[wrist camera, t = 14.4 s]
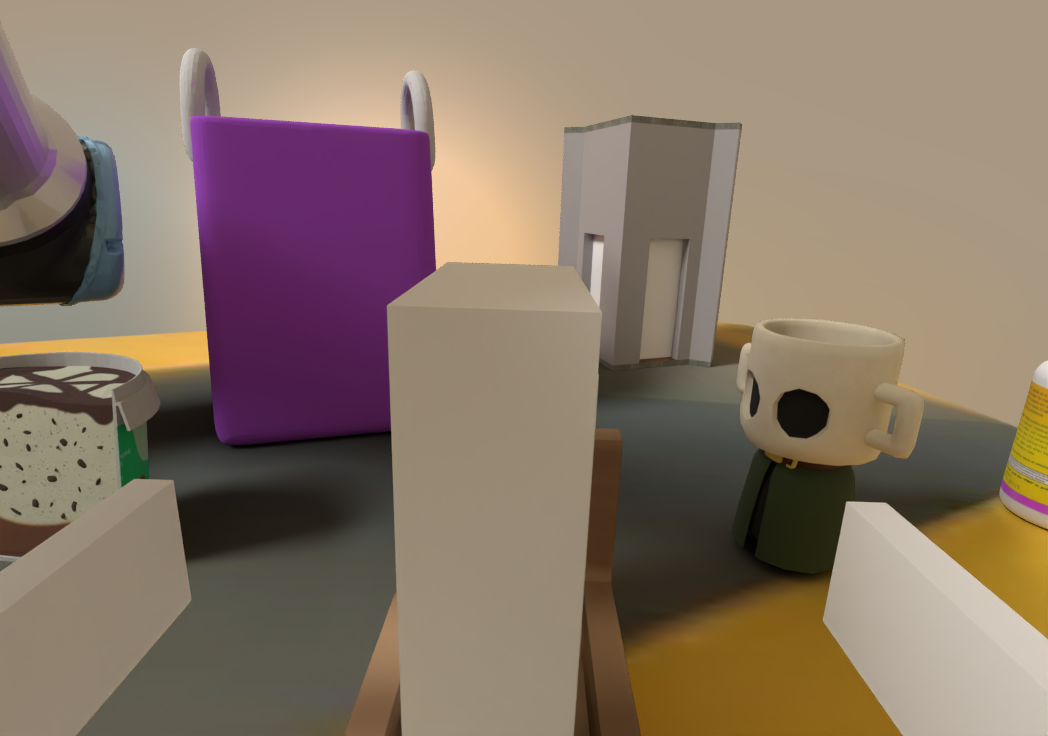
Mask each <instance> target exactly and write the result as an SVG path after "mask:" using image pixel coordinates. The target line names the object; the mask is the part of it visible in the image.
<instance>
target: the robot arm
mask: <svg viewBox="0 0 1048 736" xmlns="http://www.w3.org/2000/svg"><path fill="white" fill-rule="evenodd" d="M122 239H123V237H122V215H121V203H120V193H119V183H118V175H117V167H116V161H115V156H114V154H113V152H112V149H111V148H110V147H109V146H108V145H107V144H106V143H104V142H102V141H98V140H92V139H89V138H88V137H84V136H76V134H75V132H74V131H73V130H72V128H71V127H70V125H69V124H68V123H67V122H66V121H65V120H64V119H63V118H62V117H61V116H60V115H59V114H58V113H57V112H56V111H54V110H53V109H52V108H51V107H50V106H49V105H47V104H46V103H44V102H43V101H41V100H40V99H38V98H37V97H35V96H33V95H31V94H30V92H29V90H28V88H27V85H26V83H25V80H24V78H23V75H22V73H21V70H20V68H19V66H18V63H17V61H16V58H15V56H14V53H13V51H12V49H11V46H10V44H9V41H8V39H7V36H6V34H5V32H4V29H3V26H2V24H1V22H0V306H22V305H44V304H59V305H62V306H72V305H75V304H77V303H79V302H89V301H100V300H107V299H110V298H113V297H114V296H116V295H117V294H118V293H119V292H120V291H121V289H122V287H123V284H124V252H123V251H124V250H123V244H122ZM190 602H191V594H190V588H189V581H188V574H187V567H186V561H185V554H184V547H183V541H182V534H181V527H180V521H179V514H178V507H177V501H176V494H175V487H174V481H173V480H153V479H133V480H132V481H131V482H129V483H128V484H126V485H125V486H123V487H122V488H120V489H119V490H118V491H116V492H115V493H113V494H112V495H110V496H109V497H108V498H106V499H105V500H103V501H102V502H100V503H99V504H97V505H96V506H95V507H93V508H92V509H90V510H89V511H87V512H86V513H84V514H83V515H82V516H80V517H79V518H77V519H76V520H74V521H73V522H71V523H70V524H69V525H67V526H66V527H64V528H63V529H61V530H60V531H58V532H57V533H56V534H54V535H53V536H51V537H50V538H48V539H47V540H45V541H44V542H43V543H41V544H40V545H38V546H37V547H35V548H34V549H32V550H31V551H30V552H28V553H27V554H25V555H24V556H22V557H21V558H20V559H18V560H17V561H15V562H14V563H12V564H11V565H9V566H8V567H7V568H5V569H4V570H2V571H1V572H0V736H76V735H77V734H78V732H79V731H80V730H81V729H82V728H83V727H84V725H85V724H86V723H87V722H88V721H89V719H90V718H91V717H92V716H93V715H94V714H95V712H96V711H97V710H98V709H99V708H100V707H101V705H102V704H103V703H104V702H105V701H106V700H107V698H108V697H109V696H110V695H111V694H112V693H113V691H114V690H115V689H116V688H117V687H118V686H119V684H120V683H121V682H122V681H123V680H124V679H125V677H126V676H127V675H128V674H129V673H130V672H131V670H132V669H133V668H134V667H135V666H136V665H137V663H138V662H139V661H140V660H141V659H142V658H143V656H144V655H145V654H146V653H147V652H148V651H149V649H150V648H151V647H152V646H153V645H154V644H155V642H156V641H157V640H158V639H159V638H160V637H161V635H162V634H163V633H164V632H165V631H166V630H167V628H168V627H169V626H170V625H171V624H172V623H173V621H174V620H175V619H176V618H177V617H178V616H179V614H180V613H181V612H182V611H183V610H184V609H185V607H186V606H187V605H188V604H189V603H190ZM823 622H824V624H825V625H826V627H827V628H828V629H829V631H830V632H831V634H832V635H833V637H834V638H835V640H836V641H837V642H838V644H839V645H840V647H841V648H842V650H843V651H844V652H845V654H846V655H847V657H848V658H849V660H850V661H851V662H852V664H853V665H854V667H855V668H856V670H857V671H858V672H859V674H860V675H861V677H862V678H863V680H864V681H865V682H866V684H867V685H868V687H869V688H870V690H871V691H872V692H873V694H874V695H875V697H876V698H877V700H878V701H879V703H880V704H881V705H882V707H883V708H884V710H885V711H886V713H887V714H888V715H889V717H890V718H891V720H892V721H893V723H894V724H895V725H896V727H897V728H898V730H899V731H900V733H901V734H902V735H903V736H1048V639H1047V638H1046V637H1045V636H1044V635H1042V634H1041V633H1040V632H1039V631H1038V630H1036V629H1035V628H1034V627H1033V626H1032V625H1030V624H1029V623H1028V622H1027V621H1026V620H1025V619H1023V618H1022V617H1021V616H1020V615H1019V614H1017V613H1016V612H1015V611H1014V610H1013V609H1011V608H1010V607H1009V606H1008V605H1007V604H1006V603H1004V602H1003V601H1002V600H1001V599H1000V598H998V597H997V596H996V595H995V594H994V593H992V592H991V591H990V590H989V589H988V588H987V587H985V586H984V585H983V584H982V583H981V582H979V581H978V580H977V579H976V578H975V577H974V576H972V575H971V574H970V573H969V572H968V571H966V570H965V569H964V568H963V567H962V566H960V565H959V564H958V563H957V562H956V561H955V560H953V559H952V558H951V557H950V556H949V555H947V554H946V553H945V552H944V551H943V550H941V549H940V548H939V547H938V546H937V545H936V544H934V543H933V542H932V541H931V540H930V539H928V538H927V537H926V536H925V535H924V534H922V533H921V532H920V531H919V530H918V529H917V528H915V527H914V526H913V525H912V524H911V523H909V522H908V521H907V520H906V519H905V518H904V517H902V516H901V515H900V514H899V513H898V512H896V511H895V510H894V509H893V508H892V507H890V506H889V505H888V504H887V503H879V502H846V507H845V512H844V517H843V522H842V527H841V531H840V536H839V541H838V546H837V551H836V556H835V561H834V566H833V571H832V576H831V581H830V586H829V591H828V596H827V601H826V606H825V611H824V616H823Z"/></svg>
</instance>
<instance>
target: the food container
mask: <svg viewBox="0 0 1048 736" xmlns="http://www.w3.org/2000/svg"><path fill="white" fill-rule="evenodd" d="M159 406H160V400H159V397H158V395H157V393H156V390H155V388H154V385H153V383H152V381H151V378H150V376H149V375H148V374H147V373H146V372H145V371H143V369H142V365H141V364H140V363H139V362H138V361H136V360H134V359H132V358H129V357H125V356H121V355H114V354H106V353H91V352H56V353H36V354H22V355H12V356H2V357H0V561H9V562H15V561H17V560H18V559H20V558H21V557H22V556H24V555H25V554H27V553H28V552H30V551H31V550H32V549H34V548H35V547H37V546H38V545H40V544H41V543H43V542H44V541H45V540H47V539H48V538H50V537H51V536H53V535H54V534H56V533H57V532H58V531H60V530H61V529H63V528H64V527H66V526H67V525H69V524H70V523H71V522H73V521H74V520H76V519H77V518H79V517H80V516H82V515H83V514H84V513H86V512H87V511H89V510H90V509H92V508H93V507H95V506H96V505H97V504H99V503H100V502H102V501H103V500H105V499H106V498H108V497H109V496H110V495H112V494H113V493H115V492H116V491H118V490H119V489H120V488H122V487H123V486H125V485H126V484H128V483H129V482H131V481H132V480H133V479H149V464H148V441H147V420H149V419H150V418H151V417H152V416H153V415H154V414H155V413H156V412H157V411H158V409H159Z"/></svg>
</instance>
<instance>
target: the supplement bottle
mask: <svg viewBox="0 0 1048 736" xmlns="http://www.w3.org/2000/svg"><path fill="white" fill-rule="evenodd" d="M999 495H1000V499H1001V501H1002V503H1003V504H1004V505H1005V506H1006V507H1007V508H1008V509H1009V510H1010V511H1012V512H1013V513H1014V514H1016V515H1018V516H1019V517H1021V518H1023V519H1025V520H1027V521H1029V522H1031V523H1033V524H1035V525H1037V526H1040V527H1042V528H1045V529H1048V361H1045V362H1044V363H1042V364H1041V365H1040V366H1038V368H1037V369H1036V370H1035V373H1034V376H1033V379H1032V382H1031V386H1030V389H1029V393H1028V396H1027V399H1026V403H1025V406H1024V410H1023V413H1022V416H1021V419H1020V423H1019V426H1018V430H1017V433H1016V436H1015V440H1014V443H1013V446H1012V450H1011V453H1010V457H1009V460H1008V463H1007V466H1006V470H1005V473H1004V476H1003V480H1002V483H1001V488H1000V492H999Z"/></svg>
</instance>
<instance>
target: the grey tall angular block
mask: <svg viewBox="0 0 1048 736" xmlns="http://www.w3.org/2000/svg"><path fill="white" fill-rule="evenodd" d="M741 128H742V124H741V123H706V122H695V121H685V120H675V119H665V118H653V117H643V116H633V115H631V116H627V117H623V118H619V119H615V120H611V121H607V122H603V123H598V124H594V125H590V126H587V127H565V131H564V152H563V173H562V196H561V217H560V237H559V259H558V260H559V261H558V266H573V267H574V268H575V270H576V271H577V273H578V275H579V276H580V278H581V279H582V281H583V283H584V284H585V286H586V287H587V289H588V291H589V292H590V294H591V295H592V297H593V299H594V300H595V302H596V304H597V305H598V307H599V308H600V310H601V312H602V323H601V337H600V351H599V363H600V364H602V365H603V366H605V367H607V368H608V369H610V370H612V371H616V370H627V369H639V368H651V367H662V366H674V365H685V364H690V365H697V366H704V367H711V365H712V361H713V353H714V345H715V337H716V329H717V321H718V313H719V305H720V297H721V288H722V281H723V273H724V265H725V257H726V248H727V240H728V233H729V224H730V216H731V208H732V201H733V193H734V185H735V184H734V183H735V176H736V169H737V161H738V152H739V145H740V137H741Z"/></svg>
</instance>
